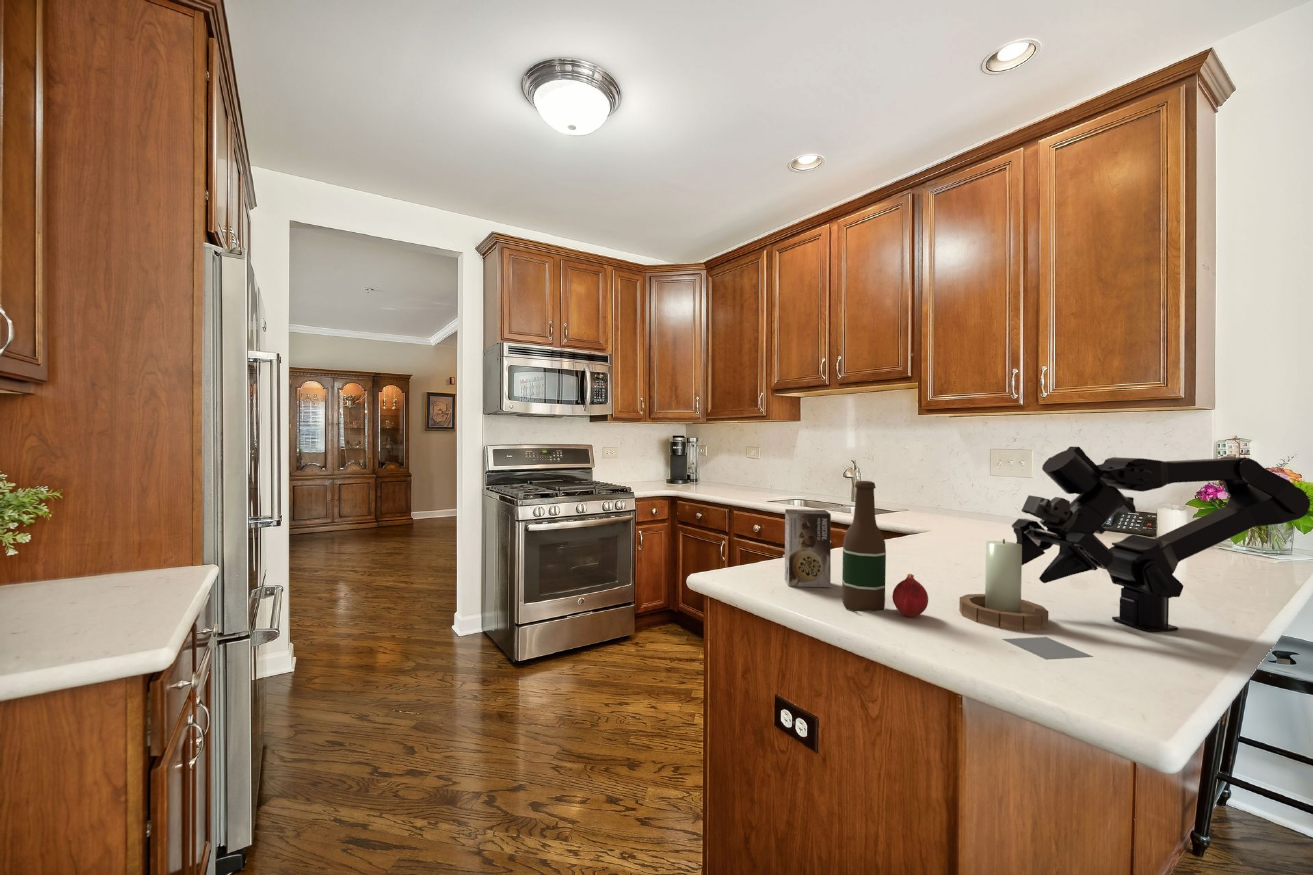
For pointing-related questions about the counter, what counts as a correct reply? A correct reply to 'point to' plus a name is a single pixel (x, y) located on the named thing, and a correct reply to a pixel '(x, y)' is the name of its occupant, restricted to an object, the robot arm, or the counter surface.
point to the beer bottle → (864, 556)
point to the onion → (910, 597)
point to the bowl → (1004, 614)
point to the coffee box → (807, 548)
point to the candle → (1003, 576)
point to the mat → (1047, 648)
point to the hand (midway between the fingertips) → (1024, 574)
